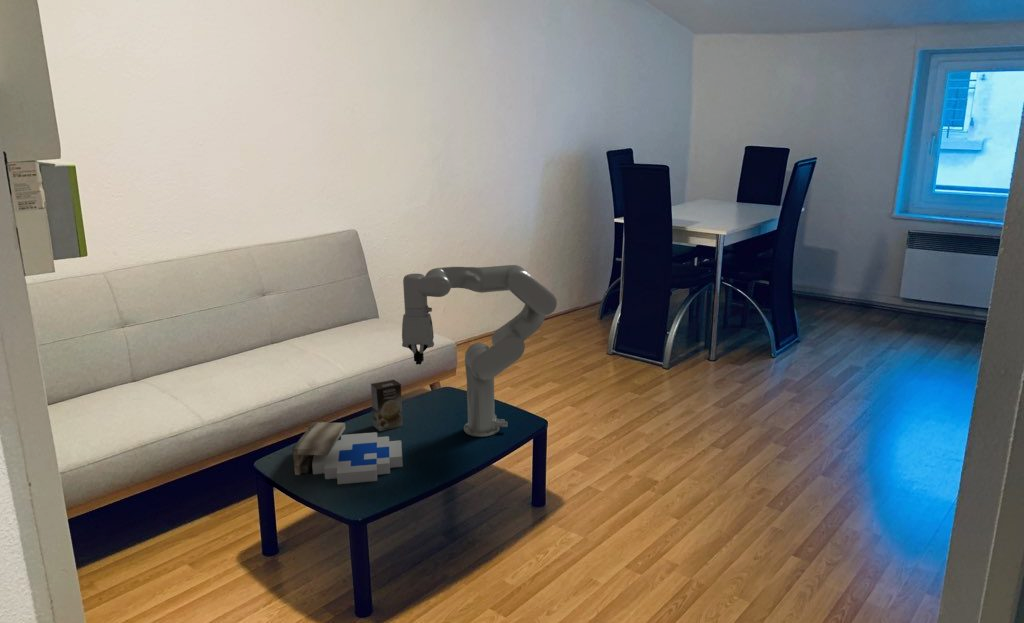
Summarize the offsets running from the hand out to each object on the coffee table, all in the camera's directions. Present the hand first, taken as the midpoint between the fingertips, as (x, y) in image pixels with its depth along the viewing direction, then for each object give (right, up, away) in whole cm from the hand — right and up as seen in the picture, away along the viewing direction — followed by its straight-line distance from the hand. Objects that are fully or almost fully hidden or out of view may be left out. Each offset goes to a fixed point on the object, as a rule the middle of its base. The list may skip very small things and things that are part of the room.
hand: (419, 363), depth 265 cm
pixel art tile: (-18, -32, -10) cm, 38 cm away
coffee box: (-13, -24, +17) cm, 32 cm away
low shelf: (-31, -31, -9) cm, 45 cm away
